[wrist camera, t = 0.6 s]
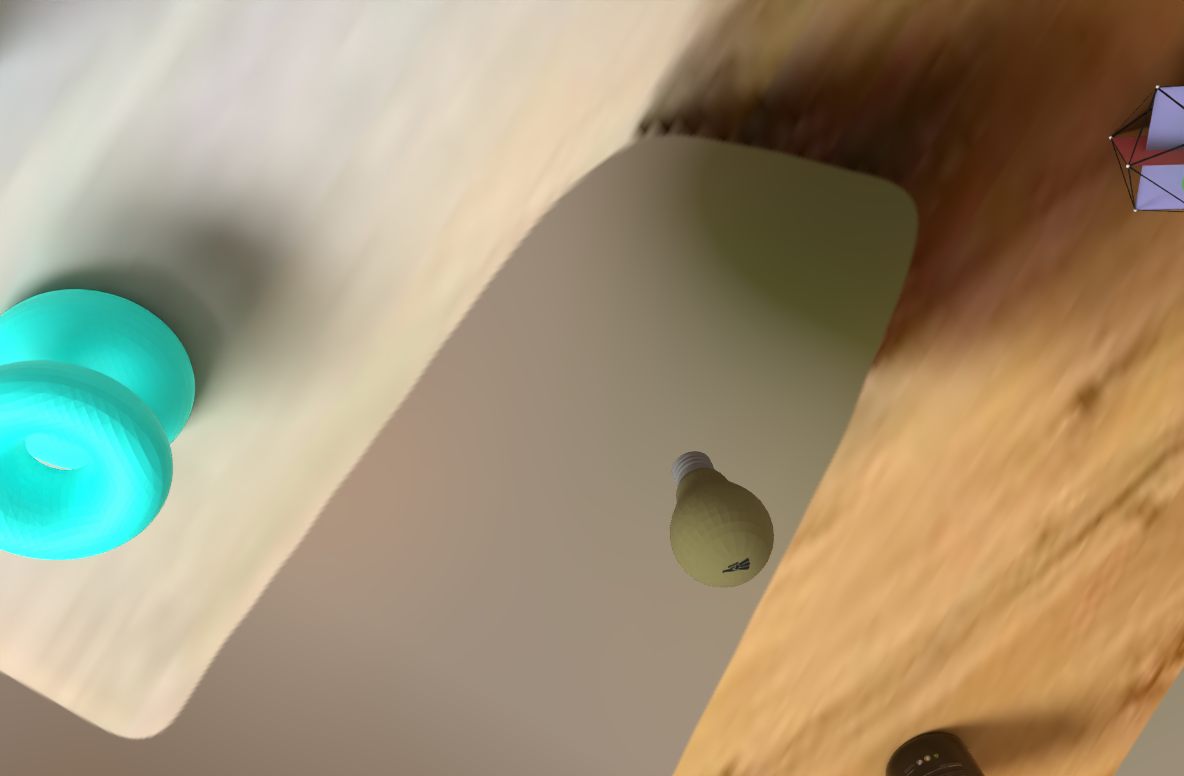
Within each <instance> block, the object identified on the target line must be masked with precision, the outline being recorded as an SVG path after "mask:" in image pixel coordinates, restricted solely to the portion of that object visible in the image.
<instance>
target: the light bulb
mask: <svg viewBox="0 0 1184 776" xmlns="http://www.w3.org/2000/svg"><path fill="white" fill-rule="evenodd" d="M672 475H673V478H674V480H675V483H676V486H677V492H676V499H677V504H676V507H675V510H674V513H673V516H672V520H671V525H670V541H671V546H672V550H673V553H674V555H675V557H676V559H677V561H678V563H679V564H680V566H681V567H682V568H683V569H684V571H685V572H686V573H687V574H689V575H690V576H691V577H692V578H694V579H695V580H697V581H699V582H701V583H704V584H706V585H708V586H713V587H722V588H723V587H724V588H725V587H734V586H738V585H741V584H743V583H746V582H747V581H749V580H750V579H752V578H754V576H756V575H757V574H758V573H759V572H760V571H761V570H762V568H764V566H765V565H766V563H767V561H768V559H769V557H770V554H771V551H772V548H773V542H774V541H773V540H774V533H773V525H772V522H771V519H770V516H769V513H768V511H767V510H766V508H765V507H764V505H763V504H762V502H761V501H760V500H759V499H758V498H757V497H756V496H755V495H753V494H752V493H751V492H750V491H748V490H747V489H745V488H743V487H741V486H739V485H737V484H734V483H732V482H730V481H728V480H727V479H726V478H725V477H724V476H723V475H722V474H721V473H719V472H718V471H716V470H715V469H714V468H713V465H712V463H711V461H710V459H709V457H708V456H707V455H705V454H704V453H701V452H688V453H685V454H683V455H682V456H680V457H679V458H678V459H677V460H676V461H675V463H674V464H673V467H672Z"/></svg>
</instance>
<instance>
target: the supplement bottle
mask: <svg viewBox="0 0 1184 776" xmlns="http://www.w3.org/2000/svg"><path fill="white" fill-rule="evenodd" d="M886 776H985V775H984V774H983V772H982V770H981V769H980V767H979V766H978V764H977V762H976V761H975V759H974V757H973V756H972V754H971V753H970V751H969V750H968V748H967V746H966V745H965V744H964V743H963V742H962V741H961V740H960V739H959V738H957V737H955V736H953V735H950V734H946V733H930V734H925V735H922V736H919V737H916V738H914V739H912V740H910V741H908V742H907V743H905V744H904V745H902V746H901V747H900V748H899V749H898V750H897V751H896V752H895V753H894V754H893V756H892V757H891V759H890V760H889V762H888V765H887V768H886Z"/></svg>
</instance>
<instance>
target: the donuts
mask: <svg viewBox="0 0 1184 776" xmlns="http://www.w3.org/2000/svg"><path fill="white" fill-rule="evenodd" d="M194 397H195V379H194V373H193V369H192V365H191V362H190V359H189V357H188V354H187V352H186V350H185V348H184V347H183V345H182V343H181V342H180V340H179V339H178V337H177V336H176V335H175V334H174V332H173V331H172V330H171V329H170V328H169V327H168V326H167V325H166V324H165V323H164V322H163V321H162V320H160V319H159V318H158V317H157V316H155V315H154V314H153V313H151V312H150V311H148V310H146V309H145V308H143V307H142V306H140V305H138V304H136V303H134V302H132V301H129V300H127V299H125V298H122V297H119V296H116V295H113V294H109V293H105V292H100V291H95V290H85V289H65V290H56V291H50V292H46V293H42V294H39V295H36V296H33V297H30V298H28V299H26V300H24V301H22V302H20V303H18V304H16V305H15V306H13V307H11V308H10V309H9V310H7V311H6V312H5V313H3V314H2V315H1V316H0V549H1V550H4V551H7V552H10V553H13V554H17V555H20V556H25V557H30V558H37V559H47V560H68V559H79V558H85V557H90V556H94V555H98V554H101V553H104V552H107V551H109V550H112V549H114V548H116V547H118V546H120V545H122V544H124V543H126V542H128V541H129V540H131V539H132V538H134V537H135V536H137V535H138V534H139V533H141V532H142V531H143V530H144V529H145V528H146V527H147V526H148V525H149V524H150V523H151V522H152V521H153V519H154V518H155V517H156V516H157V514H158V513H159V512H160V510H161V508H162V507H163V505H164V503H165V501H166V498H167V496H168V493H169V490H170V486H171V482H172V475H173V461H172V453H171V448H170V444H171V443H172V442H173V441H174V440H175V438H176V437H177V436H178V435H179V433H180V432H181V431H182V429H183V428H184V426H185V424H186V423H187V421H188V419H189V416H190V414H191V411H192V407H193V403H194ZM34 457H35V458H37V459H39V460H41V461H44V462H47V463H49V464H52V465H55V466H59V467H62V468H67V469H72V470H61V469H56V468H52V467H49V466H46V465H44V464H42V463H41V462H39V461H37V460H36V459H35V458H34Z"/></svg>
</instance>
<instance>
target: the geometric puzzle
mask: <svg viewBox="0 0 1184 776" xmlns="http://www.w3.org/2000/svg"><path fill="white" fill-rule="evenodd" d="M1155 89H1156V90H1155V93H1154V95H1153V98H1152V101H1151V103H1150V106H1149V109H1148V111H1147V112H1146V113H1147V114H1146V113H1144V114H1143V115H1141V116H1140V117H1139V118H1141V117H1142V116H1144V115H1145V114H1146V117H1145V120H1144V123H1143V125H1142V128H1141V131H1140V133H1139V136H1138V137H1114V136H1115V135H1116V134H1118V133H1119V132H1121V131H1122V130H1124V129H1125V128H1126V127H1128V126H1129V125H1131V124H1132V123H1134V122H1135V121H1136V120H1138V119H1139V118H1137V119H1136V120H1134V121H1133V122H1131V123H1130V124H1129V125H1127V126H1126V127H1124V128H1123V129H1122V130H1120V131H1119V132H1117V131H1116V132H1117V133H1116V132H1115V133H1116V134H1115V133H1114V134H1113V135H1112V136H1110V137H1109V139H1111V141H1112V144H1113V143H1114V144H1113V147H1114V145H1115V147H1116V148H1117V150H1118V151H1119V153H1120V155H1121V156H1122V158H1123V160H1124V161H1125V163H1126V167H1127V168H1128V172H1129V179H1130V185H1131V191H1132V197H1133V201H1132V203H1133V206H1134V211H1135V212H1136V211H1137V210H1142V211H1159V210H1168V209H1184V86H1166V87H1159V85H1157V86H1156V88H1155ZM1155 94H1156V95H1155ZM1150 95H1151V94H1150ZM1150 95H1149V96H1150ZM1149 96H1148V97H1149ZM1148 97H1147V98H1148ZM1154 97H1155V100H1154ZM1147 98H1146V99H1147ZM1146 99H1145V100H1146ZM1145 100H1144V101H1145ZM1153 100H1154V106H1153V108H1151V105H1152V102H1153ZM1138 108H1139V107H1138ZM1138 108H1137V109H1138ZM1150 108H1151V109H1150ZM1137 109H1136V110H1137ZM1152 109H1153V112H1152V117H1151V123H1150V128H1149V134H1148V136H1141V137H1140V135H1141V132H1142V130H1143V127H1144V124H1145V122H1146V119H1147V116H1148V113H1149V111H1151V110H1152ZM1136 110H1135V111H1136ZM1135 111H1134V112H1135ZM1134 112H1133V113H1134ZM1127 120H1128V119H1127ZM1127 120H1126V121H1127ZM1126 121H1125V122H1126ZM1125 122H1124V123H1125ZM1124 123H1123V124H1124ZM1123 124H1122V125H1123ZM1115 147H1114V150H1115ZM1115 153H1116V150H1115ZM1116 156H1117V153H1116ZM1117 159H1118V156H1117ZM1118 162H1119V159H1118ZM1119 165H1120V162H1119ZM1130 166H1143V167H1142V173H1139V172H1138V171H1136V170H1135V169H1133V168H1132V167H1130ZM1120 168H1121V165H1120ZM1129 168H1130V169H1132V170H1133V171H1135V172H1136V173H1138V174H1140V175H1141V178H1140V184H1139V189H1138V195H1137V200H1136V206H1135V203H1134V196H1133V190H1132V184H1131V177H1130V171H1129ZM1121 171H1122V168H1121ZM1122 174H1123V171H1122ZM1123 177H1124V174H1123ZM1124 180H1125V177H1124ZM1125 183H1126V180H1125ZM1126 186H1127V183H1126ZM1127 189H1128V186H1127ZM1128 192H1129V189H1128ZM1129 195H1130V192H1129ZM1130 197H1131V195H1130ZM1131 200H1132V198H1131ZM1168 212H1184V211H1168Z"/></svg>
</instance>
